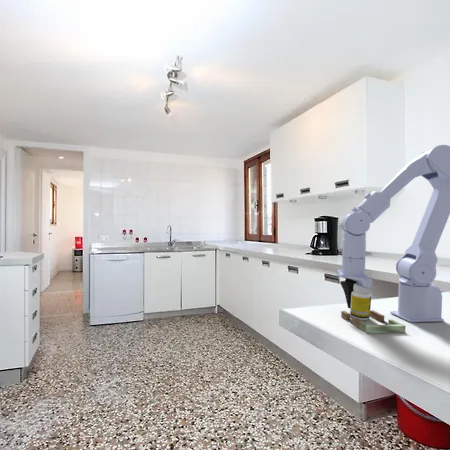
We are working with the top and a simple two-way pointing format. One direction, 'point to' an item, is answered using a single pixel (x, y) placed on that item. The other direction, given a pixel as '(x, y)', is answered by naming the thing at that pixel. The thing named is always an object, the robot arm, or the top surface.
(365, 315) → the supplement bottle
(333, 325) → the top surface
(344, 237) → the robot arm
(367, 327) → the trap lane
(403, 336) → the top surface
